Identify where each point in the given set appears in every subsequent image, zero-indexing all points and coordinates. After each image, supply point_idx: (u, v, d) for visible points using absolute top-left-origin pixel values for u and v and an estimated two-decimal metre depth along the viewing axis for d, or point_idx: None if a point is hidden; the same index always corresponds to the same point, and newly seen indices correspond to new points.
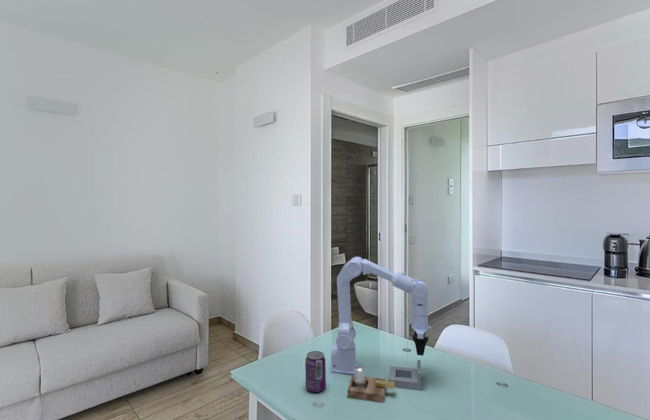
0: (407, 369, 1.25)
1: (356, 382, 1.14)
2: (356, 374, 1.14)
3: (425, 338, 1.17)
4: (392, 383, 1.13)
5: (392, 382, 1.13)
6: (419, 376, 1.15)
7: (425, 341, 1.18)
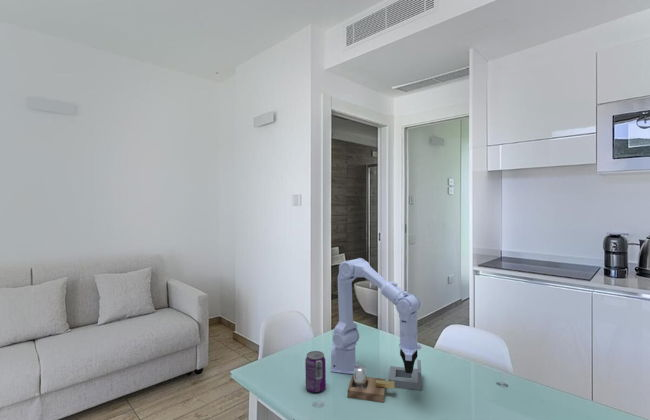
0: None
1: (356, 382, 1.14)
2: (356, 374, 1.14)
3: (414, 355, 1.08)
4: (392, 383, 1.13)
5: (392, 382, 1.13)
6: (419, 376, 1.15)
7: (414, 358, 1.08)
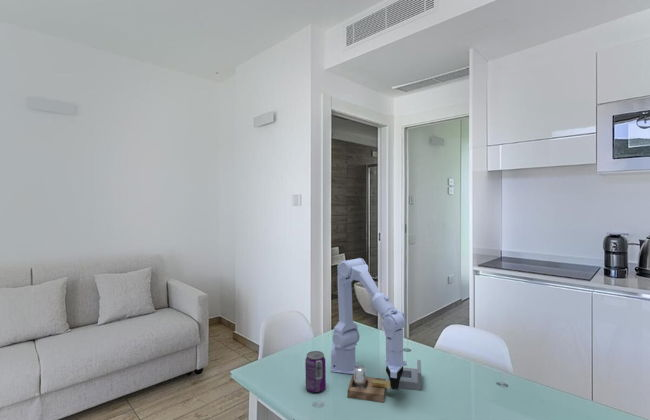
0: (407, 369, 1.25)
1: (356, 382, 1.14)
2: (356, 374, 1.14)
3: (400, 372, 1.09)
4: (389, 382, 1.13)
5: (388, 382, 1.13)
6: (419, 376, 1.15)
7: (399, 375, 1.10)
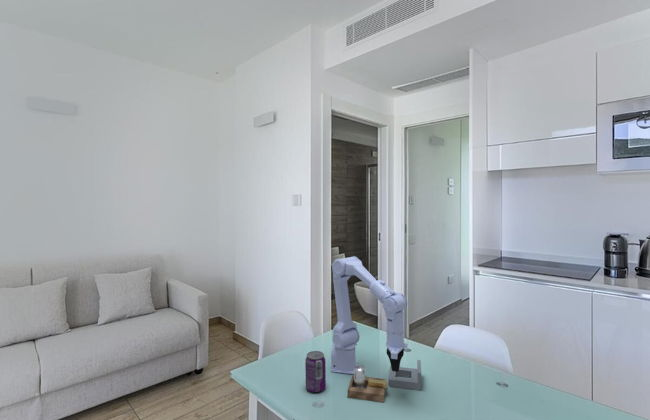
0: (407, 369, 1.25)
1: (356, 382, 1.14)
2: (356, 374, 1.14)
3: (400, 354, 1.09)
4: (385, 382, 1.13)
5: (384, 381, 1.14)
6: (419, 376, 1.15)
7: (400, 356, 1.09)
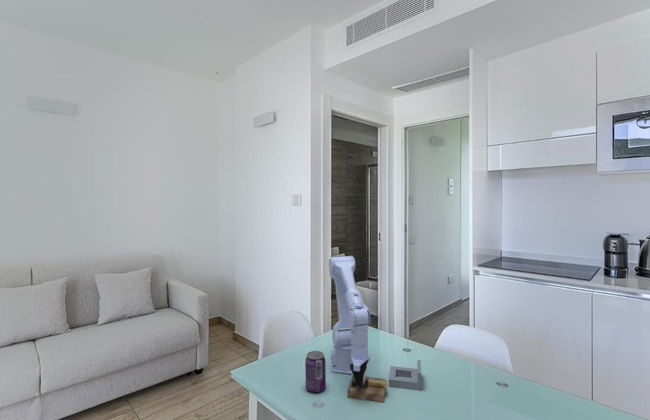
0: (407, 369, 1.25)
1: None
2: None
3: (363, 368, 1.10)
4: (385, 382, 1.13)
5: (384, 381, 1.14)
6: (419, 376, 1.15)
7: (363, 371, 1.11)
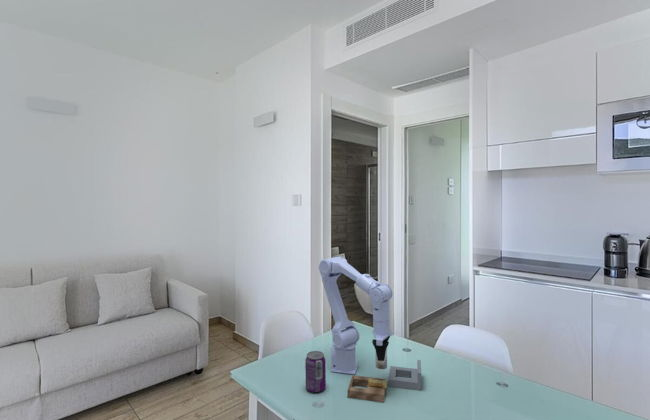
0: (407, 369, 1.25)
1: None
2: None
3: (385, 343, 1.13)
4: (385, 382, 1.13)
5: (384, 381, 1.14)
6: (419, 376, 1.15)
7: (385, 346, 1.13)
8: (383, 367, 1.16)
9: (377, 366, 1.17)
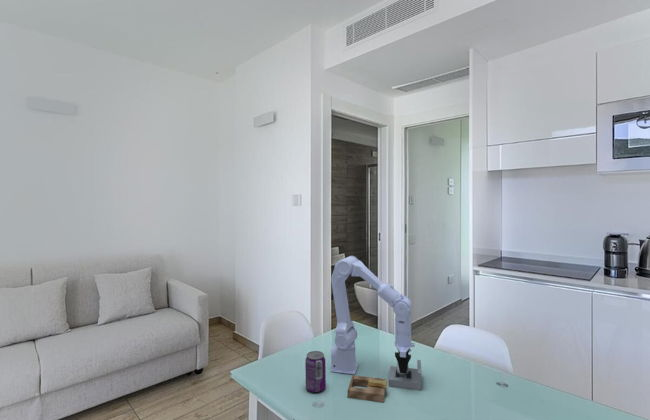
0: None
1: None
2: None
3: (408, 357, 1.15)
4: (385, 382, 1.13)
5: (384, 381, 1.14)
6: (419, 376, 1.15)
7: (408, 359, 1.16)
8: None
9: None
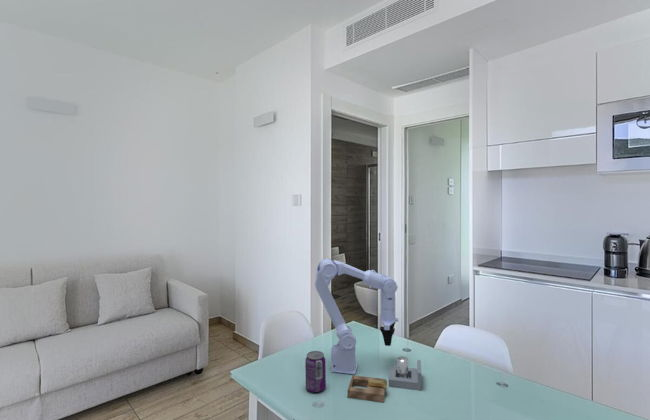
0: None
1: (400, 372, 1.20)
2: (400, 365, 1.20)
3: (392, 330, 1.26)
4: (385, 382, 1.13)
5: (384, 381, 1.14)
6: (419, 376, 1.15)
7: (391, 332, 1.26)
8: None
9: None
